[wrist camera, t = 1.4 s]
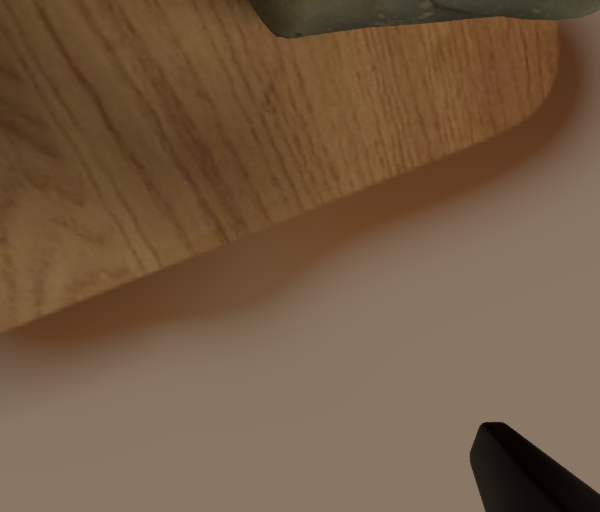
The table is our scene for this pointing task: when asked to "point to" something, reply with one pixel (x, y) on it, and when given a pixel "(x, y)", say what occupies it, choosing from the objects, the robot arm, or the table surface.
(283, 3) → the figurine
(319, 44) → the table surface
